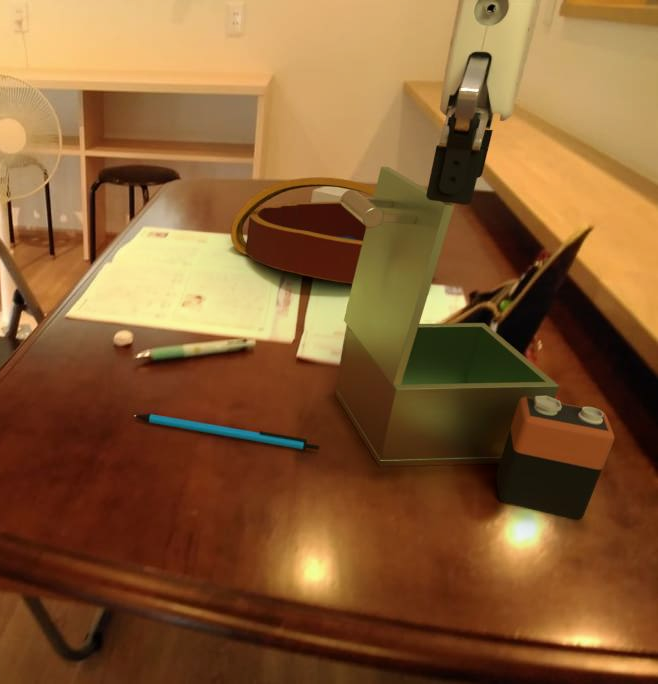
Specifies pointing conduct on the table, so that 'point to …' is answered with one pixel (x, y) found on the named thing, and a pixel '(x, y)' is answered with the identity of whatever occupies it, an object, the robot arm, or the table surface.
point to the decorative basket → (303, 232)
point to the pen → (230, 432)
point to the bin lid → (394, 266)
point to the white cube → (328, 194)
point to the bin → (439, 396)
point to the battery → (553, 456)
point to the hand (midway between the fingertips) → (455, 187)
